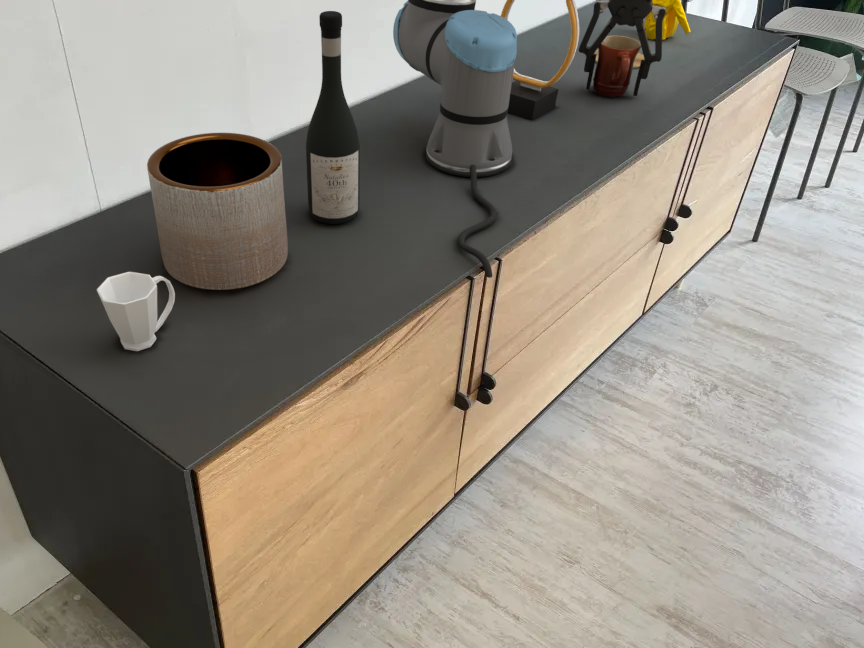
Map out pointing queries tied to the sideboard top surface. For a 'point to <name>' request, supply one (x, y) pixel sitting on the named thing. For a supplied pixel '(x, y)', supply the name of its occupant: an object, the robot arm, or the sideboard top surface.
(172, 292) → the cup
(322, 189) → the wine bottle
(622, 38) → the mug
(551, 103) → the lamp
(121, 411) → the sideboard top surface
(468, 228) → the robot arm
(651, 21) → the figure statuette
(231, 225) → the planter
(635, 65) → the tan round disc
